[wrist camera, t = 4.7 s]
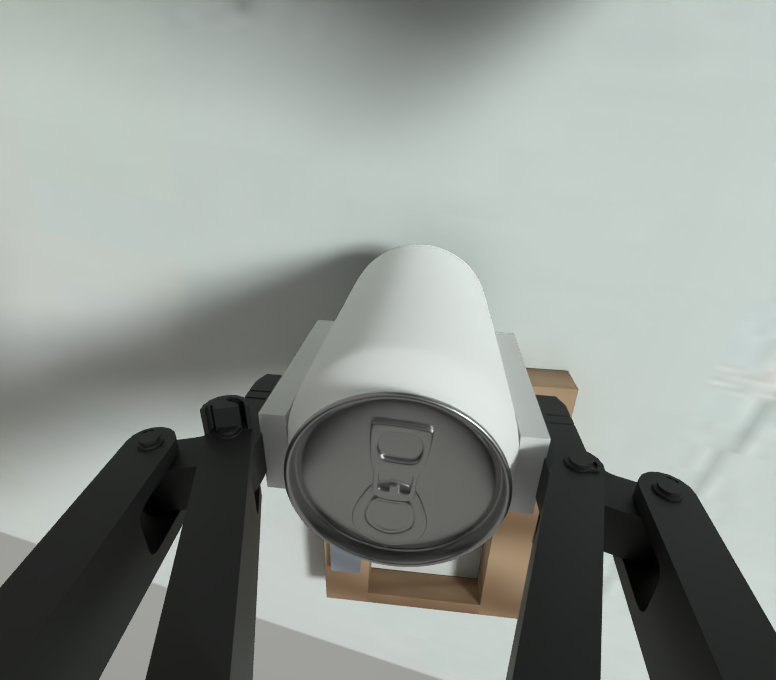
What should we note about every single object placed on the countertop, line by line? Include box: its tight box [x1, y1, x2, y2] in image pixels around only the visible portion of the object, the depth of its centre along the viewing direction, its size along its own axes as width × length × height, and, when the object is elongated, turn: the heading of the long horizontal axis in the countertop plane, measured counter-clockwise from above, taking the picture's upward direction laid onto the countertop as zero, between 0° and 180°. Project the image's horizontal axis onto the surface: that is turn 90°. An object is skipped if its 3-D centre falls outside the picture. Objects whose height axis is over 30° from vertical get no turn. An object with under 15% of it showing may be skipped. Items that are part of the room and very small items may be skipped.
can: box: [284, 244, 519, 567], centre depth 16 cm, size 6×6×12 cm
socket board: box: [324, 368, 578, 619], centre depth 28 cm, size 19×14×2 cm
